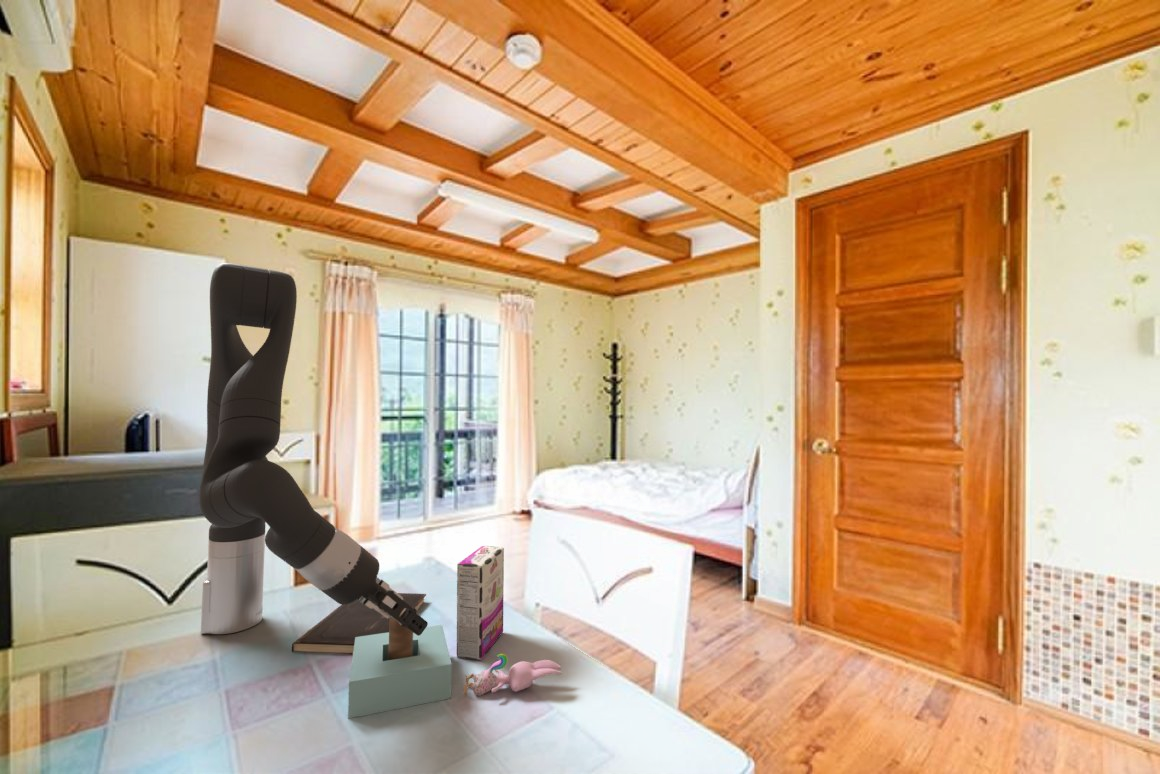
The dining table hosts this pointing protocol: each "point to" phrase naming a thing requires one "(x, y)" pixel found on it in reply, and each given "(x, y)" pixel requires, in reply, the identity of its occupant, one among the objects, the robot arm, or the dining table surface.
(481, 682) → the rabbit figure
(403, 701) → the square hole block
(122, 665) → the dining table surface
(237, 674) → the dining table surface
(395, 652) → the brown round-topped dowel
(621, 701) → the dining table surface
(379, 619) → the hardcover book
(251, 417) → the robot arm
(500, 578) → the candy bar box
